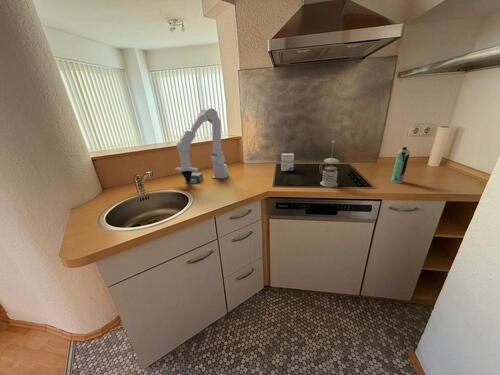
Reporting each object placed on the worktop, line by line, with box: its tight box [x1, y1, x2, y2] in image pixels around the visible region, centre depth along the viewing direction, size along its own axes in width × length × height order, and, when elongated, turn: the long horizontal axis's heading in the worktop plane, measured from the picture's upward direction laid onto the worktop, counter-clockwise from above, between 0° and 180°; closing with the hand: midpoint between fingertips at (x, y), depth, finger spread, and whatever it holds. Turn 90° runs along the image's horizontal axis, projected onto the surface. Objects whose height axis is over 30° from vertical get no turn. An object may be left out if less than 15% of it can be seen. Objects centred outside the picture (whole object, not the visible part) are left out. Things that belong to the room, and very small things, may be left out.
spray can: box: [390, 146, 411, 184], centre depth 114 cm, size 6×6×20 cm
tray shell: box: [184, 177, 199, 184], centre depth 132 cm, size 7×6×2 cm
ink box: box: [280, 153, 295, 172], centre depth 145 cm, size 8×5×12 cm, turn 84°
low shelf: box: [191, 172, 204, 183], centre depth 133 cm, size 10×5×4 cm, turn 77°
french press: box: [319, 140, 340, 188], centre depth 115 cm, size 10×12×25 cm
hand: (188, 182), depth 127 cm, fingers closed
